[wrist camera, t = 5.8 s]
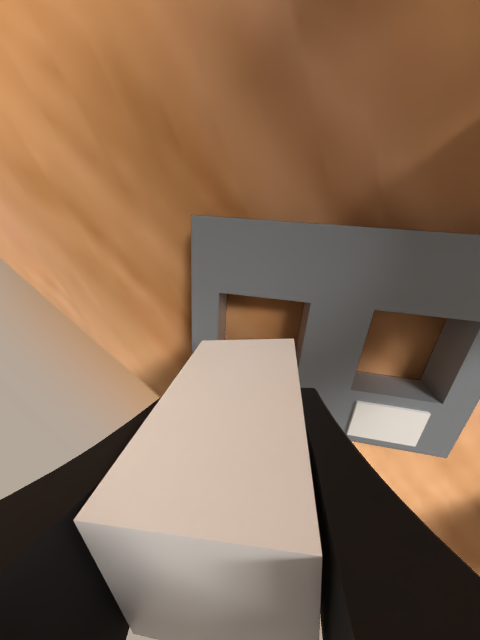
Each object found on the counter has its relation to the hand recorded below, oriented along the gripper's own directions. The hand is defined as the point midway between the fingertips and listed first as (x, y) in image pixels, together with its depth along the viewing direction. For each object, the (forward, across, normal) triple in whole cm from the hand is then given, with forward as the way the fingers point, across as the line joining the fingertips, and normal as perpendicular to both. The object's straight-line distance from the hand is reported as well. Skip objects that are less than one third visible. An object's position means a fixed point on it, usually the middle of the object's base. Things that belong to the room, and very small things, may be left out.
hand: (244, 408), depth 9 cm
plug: (+2, 0, 0) cm, 2 cm away
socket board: (+9, -4, +1) cm, 10 cm away
